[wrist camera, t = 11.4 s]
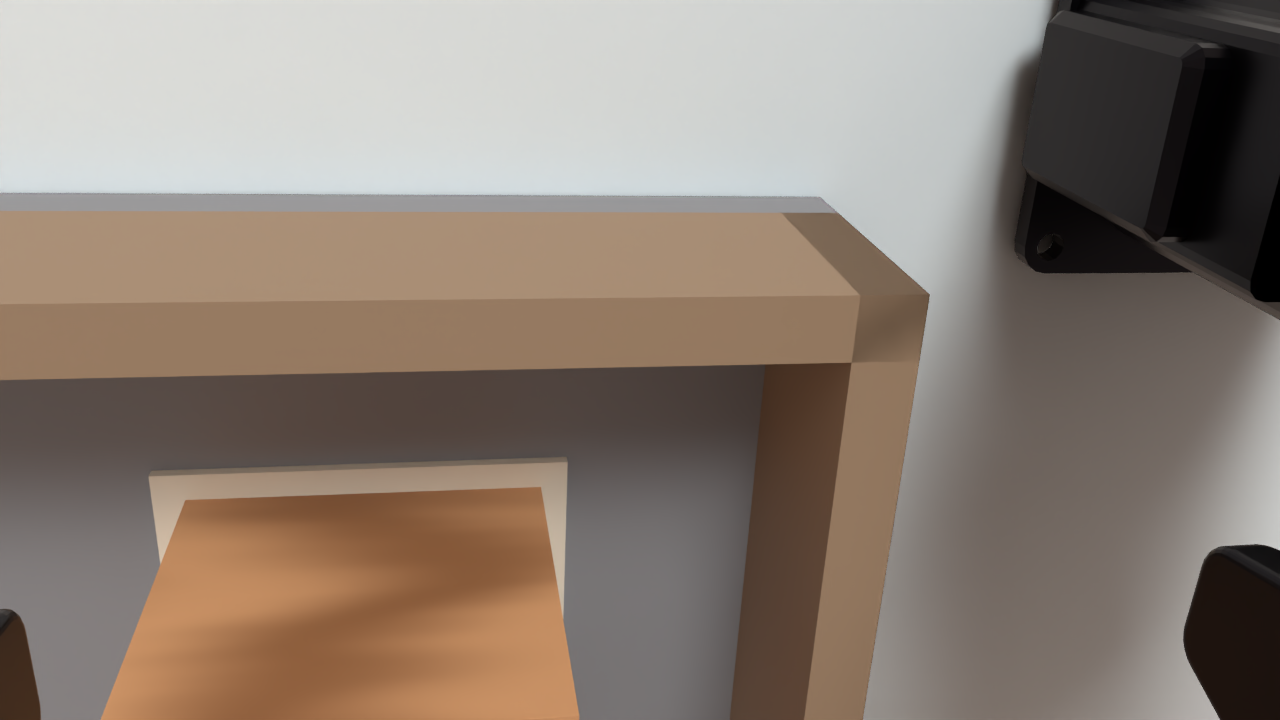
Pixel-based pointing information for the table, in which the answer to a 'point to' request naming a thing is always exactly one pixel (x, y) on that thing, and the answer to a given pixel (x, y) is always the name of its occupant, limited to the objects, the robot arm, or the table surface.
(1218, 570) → the robot arm
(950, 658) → the table surface
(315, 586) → the block
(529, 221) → the arena
